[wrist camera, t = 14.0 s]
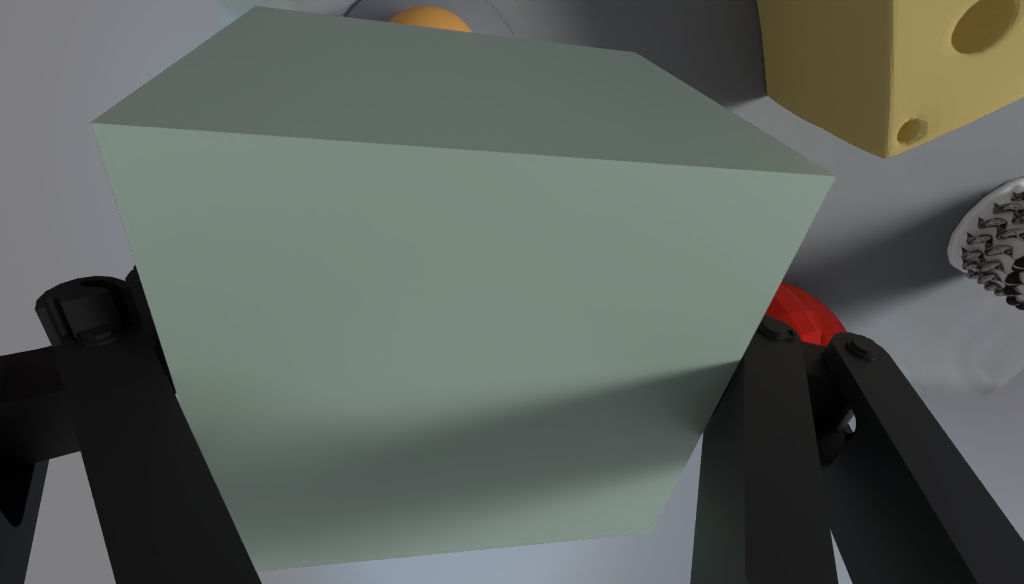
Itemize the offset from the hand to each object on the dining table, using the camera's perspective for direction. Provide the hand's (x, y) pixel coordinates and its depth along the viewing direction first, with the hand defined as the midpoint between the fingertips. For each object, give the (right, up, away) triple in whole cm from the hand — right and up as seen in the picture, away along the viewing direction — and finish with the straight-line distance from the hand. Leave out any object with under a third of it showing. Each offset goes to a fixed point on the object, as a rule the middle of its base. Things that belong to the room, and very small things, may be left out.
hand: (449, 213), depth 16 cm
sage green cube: (0, 0, +1) cm, 1 cm away
